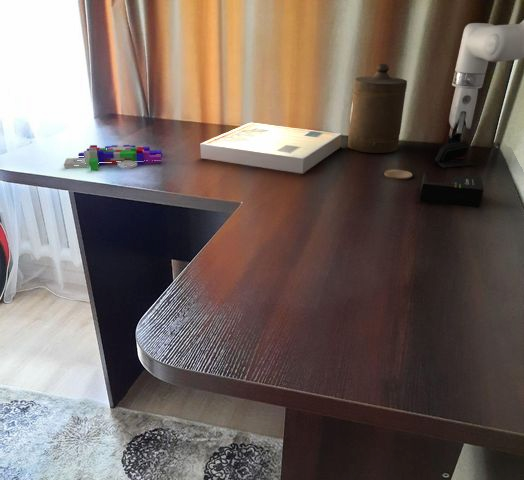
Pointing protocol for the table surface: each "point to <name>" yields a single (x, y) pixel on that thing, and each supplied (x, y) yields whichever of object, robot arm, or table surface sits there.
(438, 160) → the webcam
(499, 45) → the robot arm
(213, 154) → the flat white box
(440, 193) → the battery charger
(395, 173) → the coaster
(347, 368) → the table surface
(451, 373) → the table surface
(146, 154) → the building block set
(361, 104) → the wooden container
